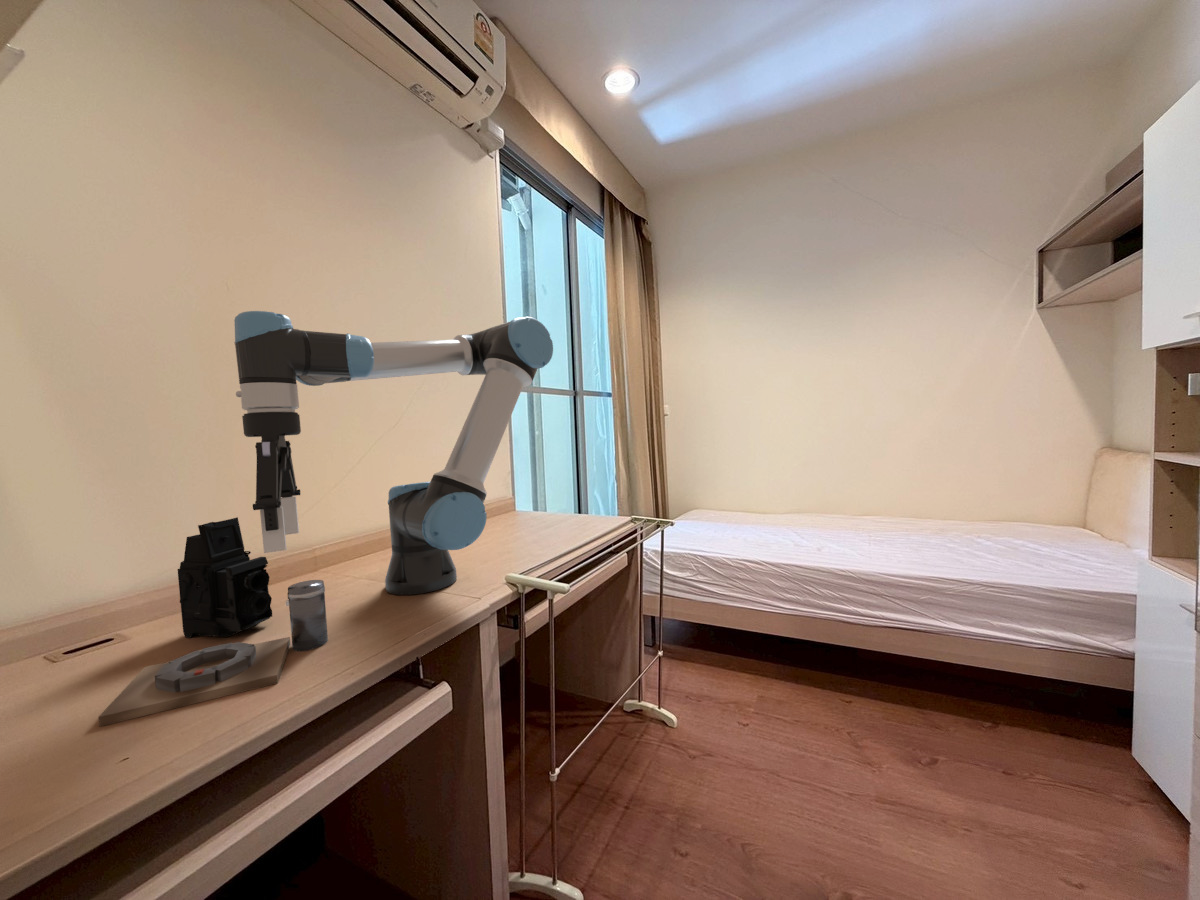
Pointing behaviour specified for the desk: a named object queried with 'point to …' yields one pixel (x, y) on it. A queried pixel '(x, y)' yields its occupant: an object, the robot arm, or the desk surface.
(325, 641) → the lens
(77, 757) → the desk surface
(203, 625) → the camera
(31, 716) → the desk surface
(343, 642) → the desk surface
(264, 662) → the mount board
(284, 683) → the desk surface
